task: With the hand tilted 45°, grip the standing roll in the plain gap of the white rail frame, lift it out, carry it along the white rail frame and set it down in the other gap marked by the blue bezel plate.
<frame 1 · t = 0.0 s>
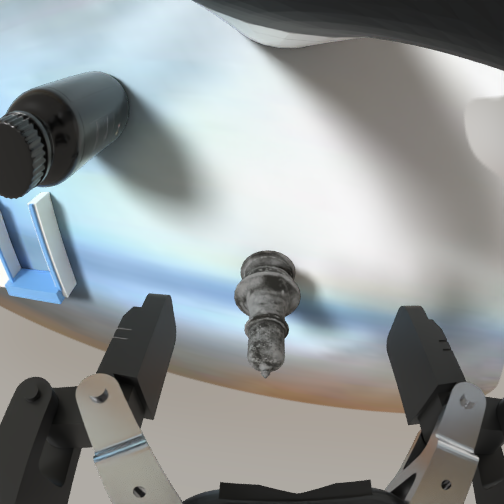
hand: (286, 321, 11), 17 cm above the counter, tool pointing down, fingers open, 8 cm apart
supplement bottle: (97, 108, 23), on the counter
dark grey turned piece: (267, 271, 32), on the counter
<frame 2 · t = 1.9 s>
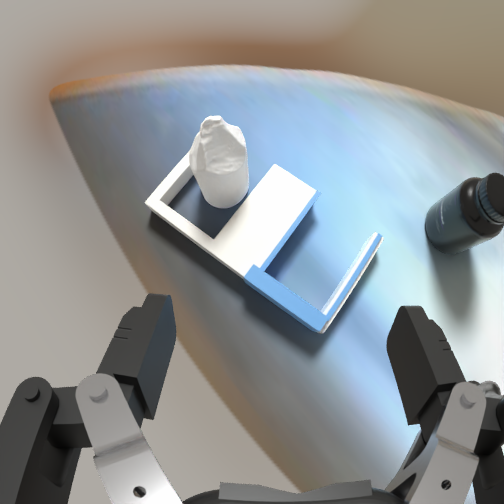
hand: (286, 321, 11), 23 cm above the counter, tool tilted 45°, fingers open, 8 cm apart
white rail frame: (265, 222, 36), on the counter
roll: (224, 185, 37), on the counter
supplement bottle: (445, 230, 35), on the counter
dark grey turned piece: (467, 400, 30), on the counter
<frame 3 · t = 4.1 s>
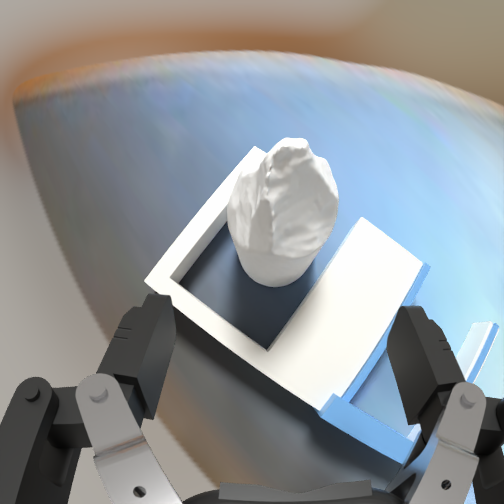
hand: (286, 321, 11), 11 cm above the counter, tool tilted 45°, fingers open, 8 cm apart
white rail frame: (342, 310, 22), on the counter
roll: (274, 245, 23), on the counter
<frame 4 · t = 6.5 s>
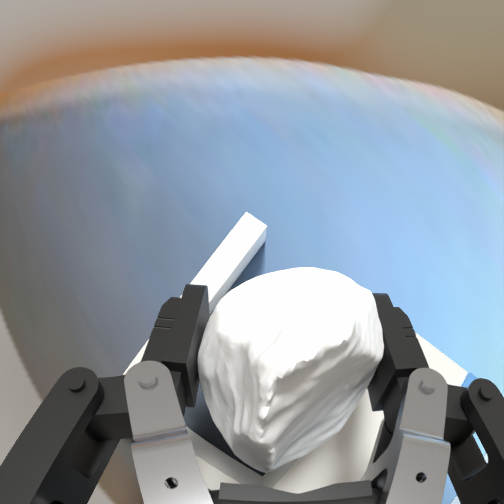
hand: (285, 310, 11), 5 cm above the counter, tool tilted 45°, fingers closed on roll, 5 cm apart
white rail frame: (359, 428, 15), on the counter
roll: (274, 350, 16), on the counter, touching gripper
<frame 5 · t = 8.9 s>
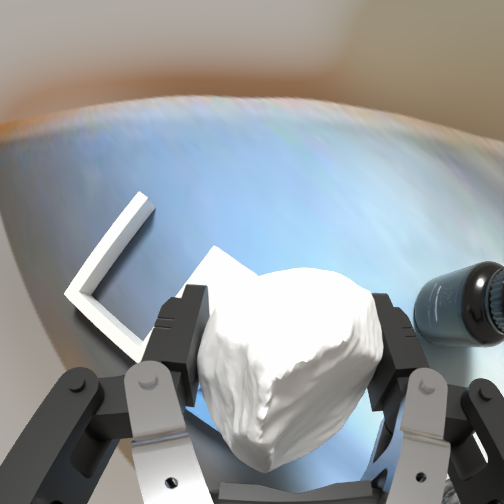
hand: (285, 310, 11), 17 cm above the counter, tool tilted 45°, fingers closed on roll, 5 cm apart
white rail frame: (205, 318, 28), on the counter
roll: (274, 350, 16), point 11 cm above the counter, touching gripper
supplement bottle: (439, 312, 28), on the counter
dark grey turned piece: (445, 496, 23), on the counter
when the fingers open (7 cm above the counter, at t = 11.6 s): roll drops 1 cm, on the counter.
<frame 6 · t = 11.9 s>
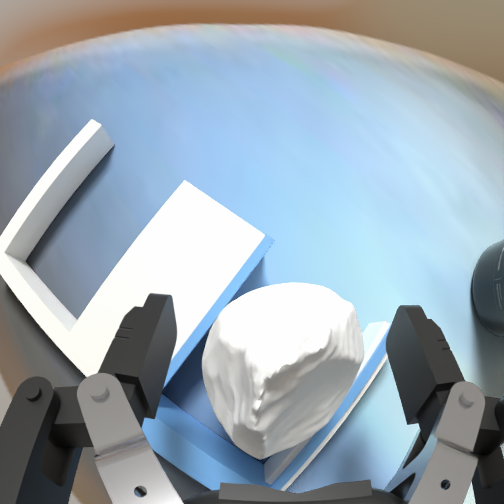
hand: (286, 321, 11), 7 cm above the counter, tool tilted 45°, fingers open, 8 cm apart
white rail frame: (170, 294, 18), on the counter
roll: (271, 352, 18), on the counter
supplement bottle: (499, 291, 18), on the counter
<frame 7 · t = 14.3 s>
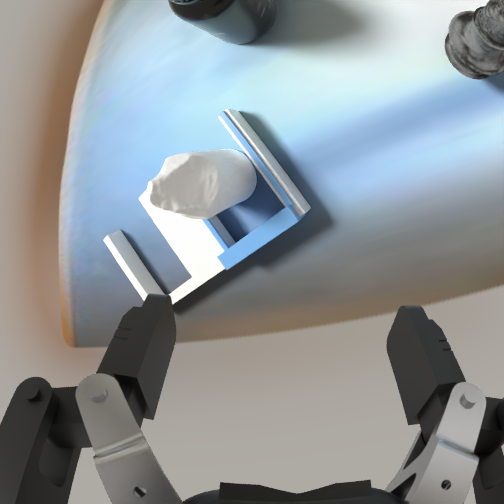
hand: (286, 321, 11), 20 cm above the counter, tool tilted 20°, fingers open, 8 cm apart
white rail frame: (192, 218, 35), on the counter
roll: (230, 176, 32), on the counter
supplement bottle: (245, 17, 26), on the counter
dark grey turned piece: (470, 52, 20), on the counter
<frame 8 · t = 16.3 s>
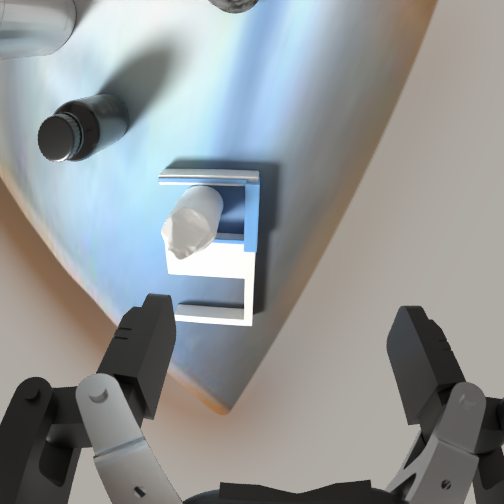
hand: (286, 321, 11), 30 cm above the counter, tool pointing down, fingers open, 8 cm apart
white rail frame: (208, 249, 45), on the counter
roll: (201, 204, 42), on the counter
supplement bottle: (107, 118, 36), on the counter
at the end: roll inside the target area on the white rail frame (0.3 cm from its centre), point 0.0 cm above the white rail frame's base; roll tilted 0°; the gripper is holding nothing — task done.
